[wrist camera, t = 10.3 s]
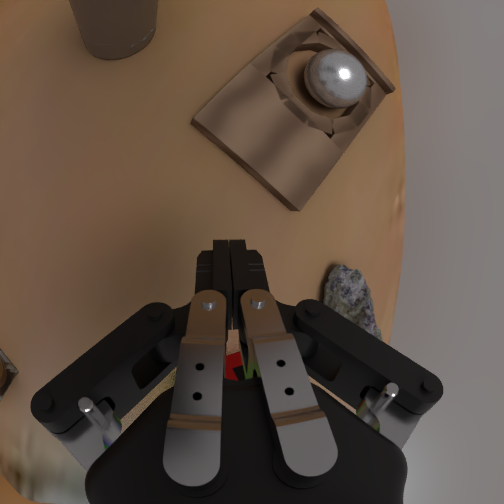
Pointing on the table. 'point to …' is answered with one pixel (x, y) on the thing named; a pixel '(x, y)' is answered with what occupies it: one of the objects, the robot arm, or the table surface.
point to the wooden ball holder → (288, 115)
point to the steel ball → (335, 78)
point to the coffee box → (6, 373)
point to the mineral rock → (351, 298)
